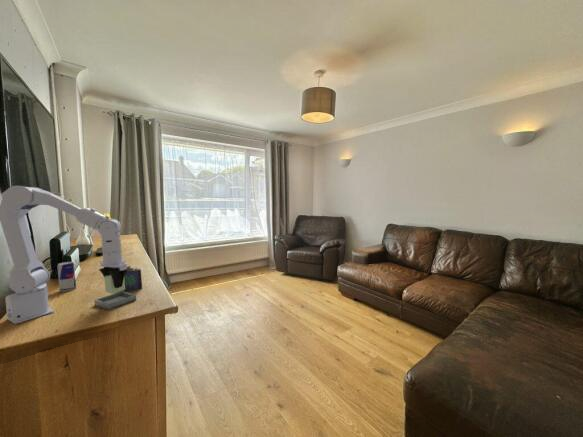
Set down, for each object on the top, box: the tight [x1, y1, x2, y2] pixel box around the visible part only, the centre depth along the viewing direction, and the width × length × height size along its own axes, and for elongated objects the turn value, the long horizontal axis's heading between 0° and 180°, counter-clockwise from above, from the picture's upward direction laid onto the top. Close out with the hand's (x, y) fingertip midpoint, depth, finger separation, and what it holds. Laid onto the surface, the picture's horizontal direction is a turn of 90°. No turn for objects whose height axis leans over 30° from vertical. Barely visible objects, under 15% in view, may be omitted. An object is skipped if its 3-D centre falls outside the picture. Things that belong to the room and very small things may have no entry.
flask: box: [119, 265, 143, 292], centre depth 104 cm, size 9×3×11 cm, turn 109°
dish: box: [94, 291, 137, 311], centre depth 91 cm, size 10×10×2 cm
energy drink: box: [56, 261, 77, 293], centre depth 105 cm, size 5×5×12 cm
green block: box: [104, 275, 125, 295], centre depth 91 cm, size 4×4×6 cm
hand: (114, 286), depth 91 cm, fingers closed on green block, 4 cm apart
